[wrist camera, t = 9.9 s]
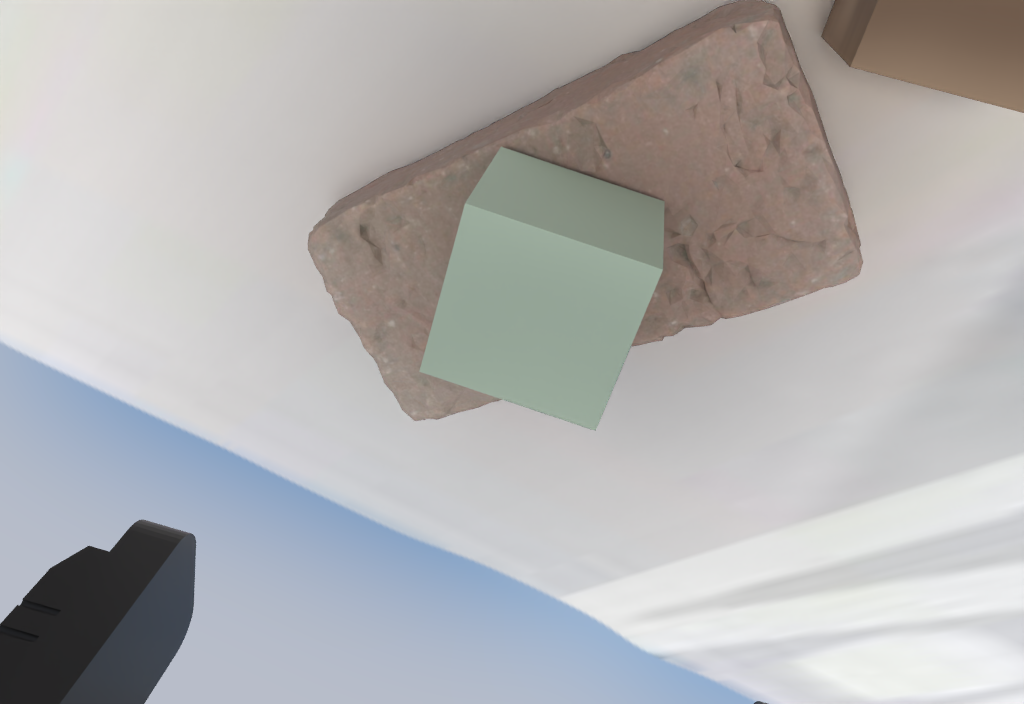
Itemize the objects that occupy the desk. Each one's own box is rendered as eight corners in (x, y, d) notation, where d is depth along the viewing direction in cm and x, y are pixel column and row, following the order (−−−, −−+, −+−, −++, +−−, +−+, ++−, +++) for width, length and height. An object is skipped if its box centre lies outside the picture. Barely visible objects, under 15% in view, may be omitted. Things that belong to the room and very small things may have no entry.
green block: (501, 146, 25) (465, 202, 20) (664, 201, 25) (663, 269, 20) (459, 293, 27) (419, 371, 23) (607, 343, 27) (595, 430, 23)
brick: (437, 379, 35) (406, 446, 30) (326, 197, 31) (275, 244, 27) (851, 220, 29) (881, 275, 25) (765, -22, 26) (783, -3, 22)
